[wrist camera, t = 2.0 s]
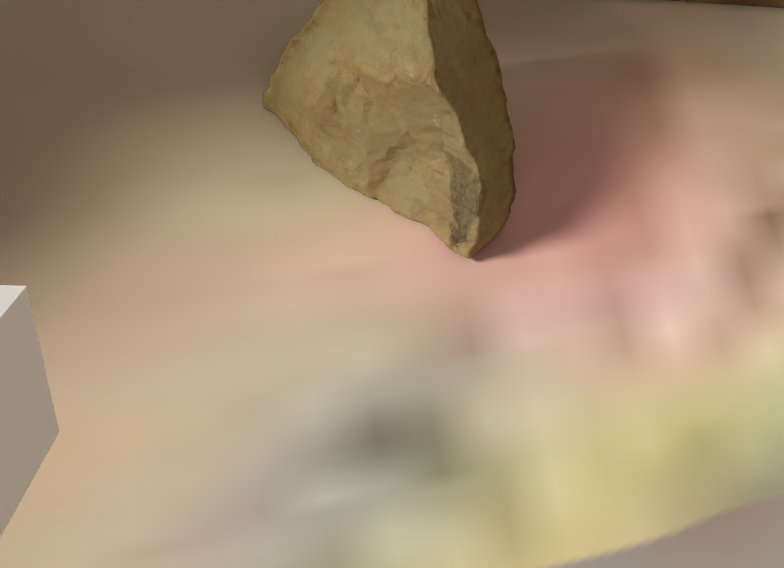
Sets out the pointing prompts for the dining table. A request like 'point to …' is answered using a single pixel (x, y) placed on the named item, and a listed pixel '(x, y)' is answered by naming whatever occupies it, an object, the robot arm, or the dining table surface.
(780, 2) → the crate
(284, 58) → the rock
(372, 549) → the dining table surface
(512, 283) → the dining table surface
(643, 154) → the dining table surface
